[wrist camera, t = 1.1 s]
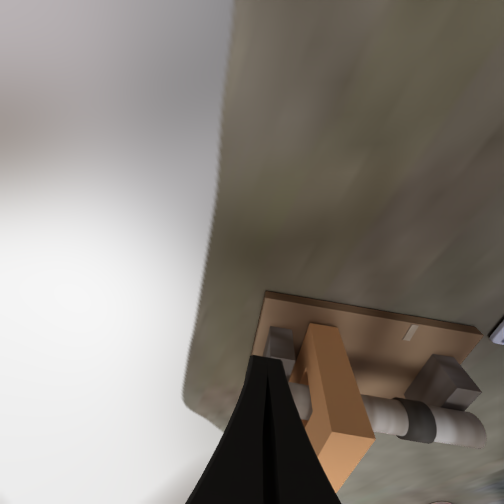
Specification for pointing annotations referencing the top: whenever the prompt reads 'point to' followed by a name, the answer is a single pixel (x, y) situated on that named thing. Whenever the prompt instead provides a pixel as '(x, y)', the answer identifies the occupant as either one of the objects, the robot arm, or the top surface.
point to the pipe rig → (385, 366)
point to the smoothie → (441, 502)
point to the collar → (332, 403)
